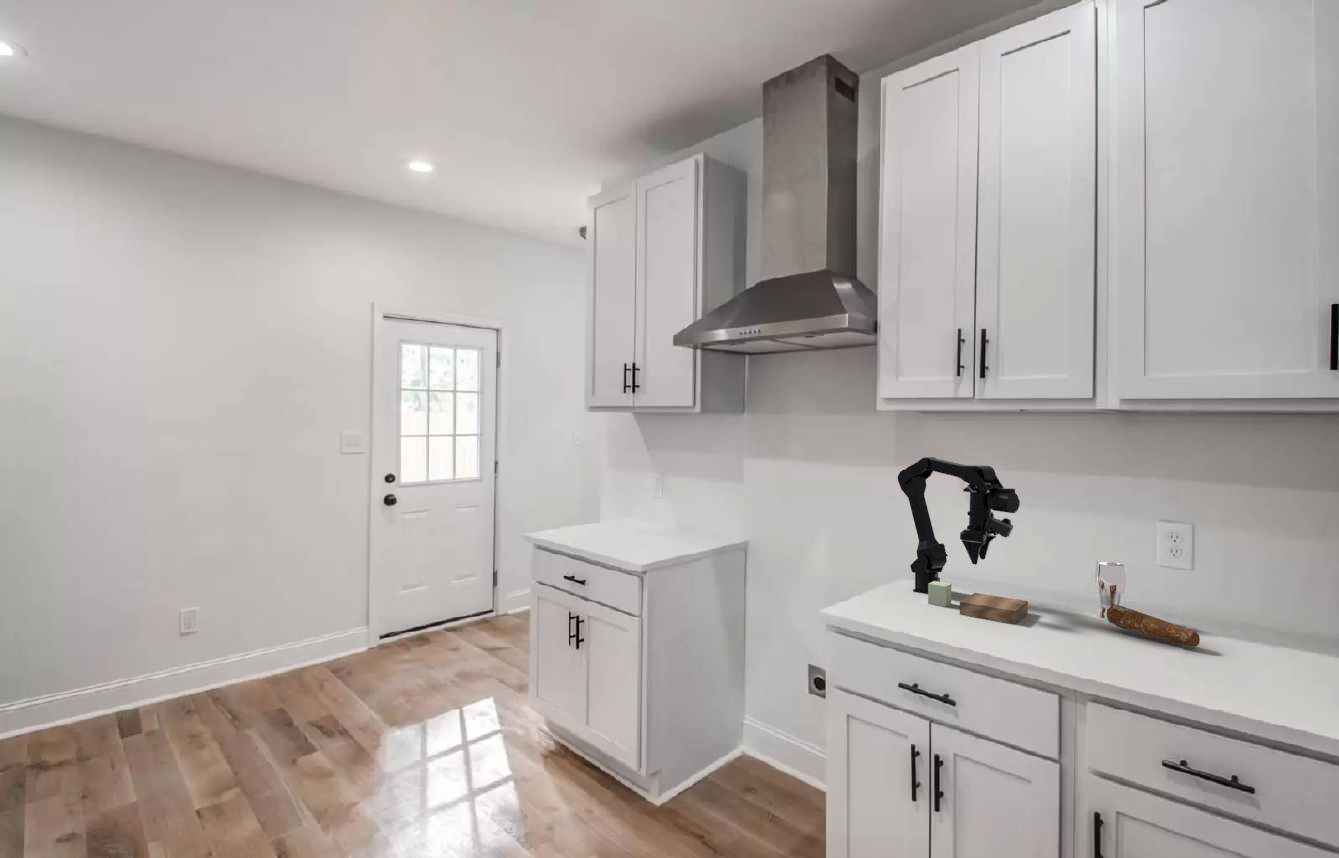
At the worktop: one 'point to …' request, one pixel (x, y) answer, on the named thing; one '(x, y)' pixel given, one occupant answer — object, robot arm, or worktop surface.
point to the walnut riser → (994, 608)
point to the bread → (1150, 626)
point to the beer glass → (1109, 585)
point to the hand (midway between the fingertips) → (978, 561)
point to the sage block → (939, 593)
